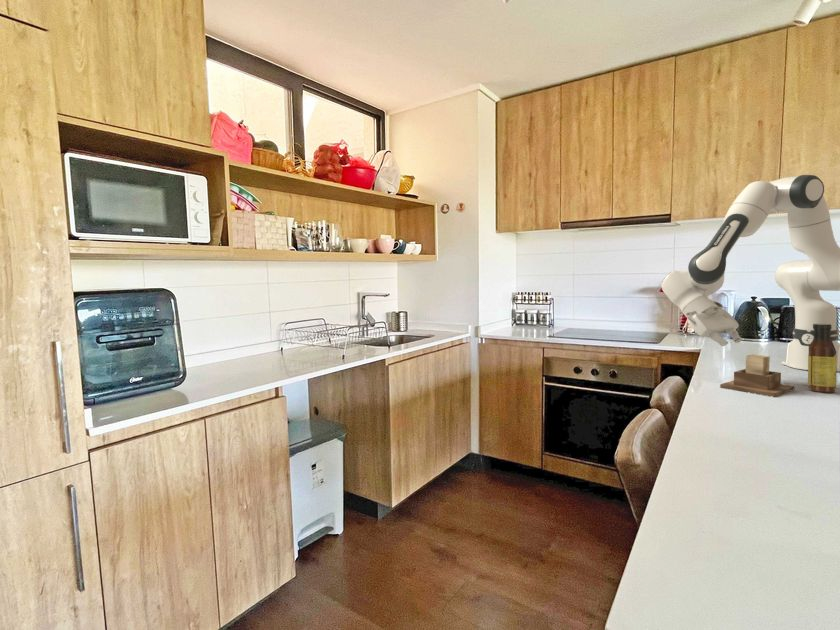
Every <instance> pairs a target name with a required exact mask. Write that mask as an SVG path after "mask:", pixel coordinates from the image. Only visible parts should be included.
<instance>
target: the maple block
mask: <svg viewBox="0 0 840 630" xmlns="http://www.w3.org/2000/svg"><path fill="white" fill-rule="evenodd" d="M770 358H771V357H770V355H763V354H754V353H753V354H750V355H746V357H745V369H746V373H750V374H757V375H763V376H766V375H769V371H770V360H771V359H770Z"/></svg>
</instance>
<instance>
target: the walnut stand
mask: <svg viewBox="0 0 840 630" xmlns="http://www.w3.org/2000/svg"><path fill="white" fill-rule="evenodd" d="M781 380H782V373H781V372H777V371H771V370H769V375H766V376H763V375H757V374H750V373H746V368H743V369H740V370H739V369H738V370H736V371H733V380H731V381H727V382H724V383H720V384H719V388H721V389H725V390H731V389H732V391H738V392H744V393H748V392H750V393H749V394H754V393H756V394H755V395H760V394H762V395H761V396H765V395H768V396H767V397H771V396H773V397H772V398H775V397H778V396H780V394H781V395H783V393H784V394H785V392H786V393H789V392H791V391H790V390H792V391H794V390H795V389H796V388H795V385H790V384H782V383H781V382H782V381H781ZM793 389H794V390H793ZM788 391H789V392H788ZM777 395H778V396H777Z"/></svg>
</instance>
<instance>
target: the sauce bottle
mask: <svg viewBox="0 0 840 630" xmlns="http://www.w3.org/2000/svg"><path fill="white" fill-rule="evenodd" d="M831 328H832V326H831V324H823V323H817V324H813V329H814V339H813V341H812V342H811V344H810V345H809V355H808V370H807V384H808V386H807V387H808V388H807V389H808V390H810V391H813V392H818V393H827V394H828V393H835V392H836V391H837V389H836V388H837V371H836V363H837V362H836V358H837V357H836V356H837V355H836V350H835V347H834V345H833V342H832V340H831Z"/></svg>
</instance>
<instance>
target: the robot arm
mask: <svg viewBox="0 0 840 630" xmlns="http://www.w3.org/2000/svg"><path fill="white" fill-rule="evenodd" d="M824 192H825V185H824V182H823V181H822V179H820V177H818V176H817V175H815V174H814V175H813V174H801V175H797V176H796V175H795V176H786V177H782V178H777V179H775V180H770V181H765V180H756V181H752V182H750V183H748V184H747V185H746V186H745V187H744V188H743V189H742V191H741V192H740V193H739V194H738V195H737V197H736V198H735V200H734V201H733V202H732V204H731V206H729V208H728V210H727V212H726V214H725V216H724V218H723V219H722V223H721V225H720V227H719V229H718V230H717V232H716V233H715V235H714V236H713V237H712V238H711V240H710V241H709V243H708V244H707V246H706V247H705V248H703V249H702V250H701V251H699V252H698V253H696V254H695V255H694V256H693V257H692V258H691V259H690V260H689V262H688V267H687V269H684V270H683V269H681V270H671V271H670V272H669V273H668V274H667V275H665V277H664V278H663V280H662V281H661V285H660V286H661V287H660V288H661V290H662V291H663V293H664V295H665V296H666V297H667V299H668V300H669V301H670V302H671V303H673V305H674V306H676V307H678V308H679V310H680V311H681V313H682V314H683V315H684V316H685V317H686V318H687V322H688V325H690V327H691V328H692V330H693V331H694V332H695V333H696V334H697V335H698V336H699V337H700V338H704V339H705V338H708V337H709V338H710V339H711V340H713V341H714V342H716V343H717V344H719V345H720V346H721V347H725V346H727V345H728V344H729V342H728V341H727V340H726V338H724V337H722V336H720V335H725V334H728V335H729V336H731V338H732V341H733V342H734V343H735V344H739V343H741V342H743V338H742V337H741V336H740V335H739V333H738V331H737V329H738V328H739V323H738V321H737V320H736V319H735V318H734V317H733V316H732V315H731V313H729V312H728V311H727V310H726V309H724V308H725V307H724V305H723V304H722V303H720V302H719V301H714V300H712V299H710V298H709V297H708V296H710V295H711V294H714V293H716V292H717V291H719V290H720V289H721V288H722V287H723V285H724V282H725V272H726V266H727V257H728V255H729V254H730V252H731V250H732V249H733V247H734V246H735V245H736V244H737V242H738V241H739V239H740V238H746V237H751V236H753V235H754V234H755V233H756V232H757V231H758V230H759V229H760V228H761V227H762V226H763V224H764V222H765V221H766V219H767V218H768V216H769V214H770V213H781V212H782V213H783V212H787V224H788V232H789V236H790V241H791V246H792V248H793V249H794V250H796V251H798V252H800V253H802V254H804V255H806V256H807V257H808V258H809V259H804V260H794V261H788V262H784V263H781V264H780V265H779V266H778V267H777V269H776V271H775V273H774V280H775V283H776V284H777V285H778V287H779V288H781V289H783V290H784V291H785V292H786V293H787V294H788V295H789V297H790V298H791V301H792V303H793V307H794V319H795V321H794V323H795V324H794V328H793V331H792V338H793V339H792V340H791V341H790V342H788V344H787V348H786V349H787V350H786V359H785V360H782V361H781V363H780V364H781V365H785V366H787V367H790V368H792V369H797V370H804V371H808V355H809V345H810V344H811V342H812V341H813V339H814V329H813V324H817V323H823V324H831V326H832V328H831V340H832V342H833V345H834V347H835V350H836V355H837V356H836V357H837V358H836V362H837V363H836V372H840V343H839V341H838V340H839V335H840V330H839V329H837V316H838V311H837V308H836V306H835V305H833V304H832V303H831V302H829V301H826V300H824V298H822V296H821V294H820V291H821V292H822V291H827V292H828V291H829V292H831V291H834V292H837V291H838V292H840V246H839V245H838V244H837V241H836V239H835V235H834V232H833V228H832V227H833V226H832V221H831V216H830V210H829V207H828V204H827V201H826V198H825V196H824Z"/></svg>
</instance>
